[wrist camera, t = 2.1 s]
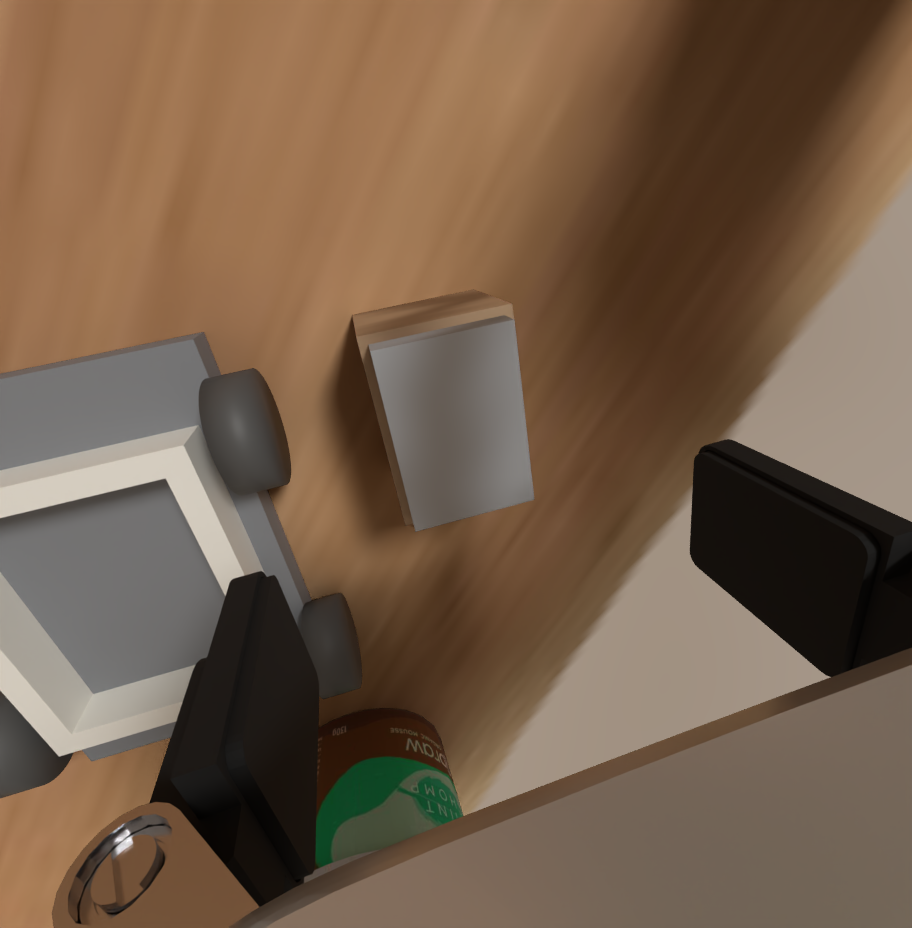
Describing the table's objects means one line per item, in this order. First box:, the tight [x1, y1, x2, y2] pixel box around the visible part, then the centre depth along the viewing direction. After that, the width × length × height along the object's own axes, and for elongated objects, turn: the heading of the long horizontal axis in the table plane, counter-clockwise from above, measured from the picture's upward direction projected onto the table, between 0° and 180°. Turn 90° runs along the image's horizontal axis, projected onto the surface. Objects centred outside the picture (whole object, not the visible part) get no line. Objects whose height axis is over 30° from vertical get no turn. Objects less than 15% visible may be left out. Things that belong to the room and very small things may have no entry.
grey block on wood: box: [352, 290, 534, 532], centre depth 18 cm, size 5×7×6 cm
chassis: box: [0, 332, 362, 798], centre depth 19 cm, size 15×18×4 cm
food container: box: [304, 708, 463, 883], centre depth 25 cm, size 12×6×10 cm, turn 49°
